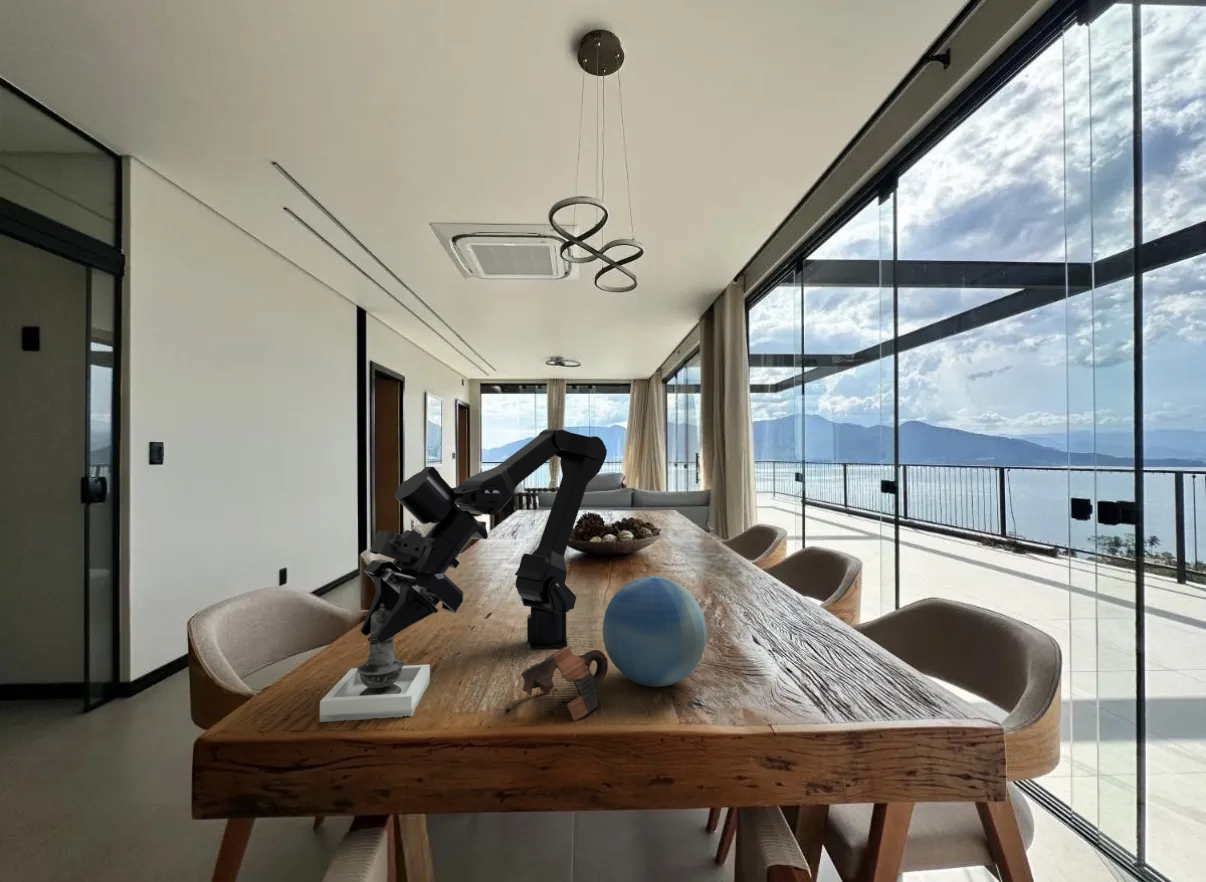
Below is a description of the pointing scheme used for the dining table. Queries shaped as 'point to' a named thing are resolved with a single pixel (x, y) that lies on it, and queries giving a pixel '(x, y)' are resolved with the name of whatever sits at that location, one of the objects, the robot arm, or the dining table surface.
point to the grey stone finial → (380, 661)
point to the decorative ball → (654, 631)
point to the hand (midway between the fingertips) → (370, 637)
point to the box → (374, 697)
